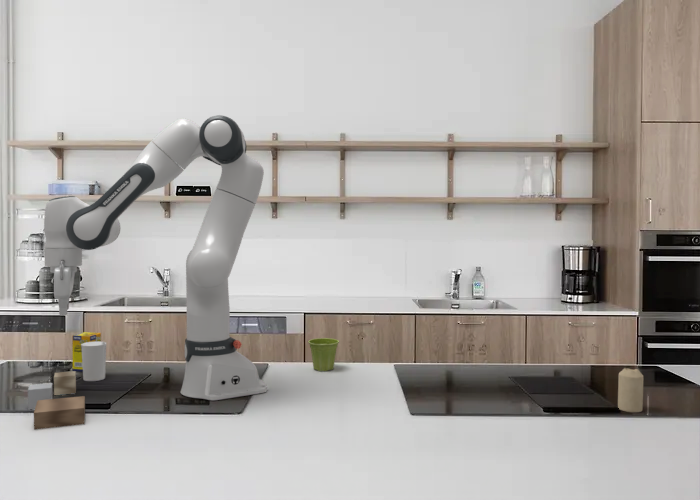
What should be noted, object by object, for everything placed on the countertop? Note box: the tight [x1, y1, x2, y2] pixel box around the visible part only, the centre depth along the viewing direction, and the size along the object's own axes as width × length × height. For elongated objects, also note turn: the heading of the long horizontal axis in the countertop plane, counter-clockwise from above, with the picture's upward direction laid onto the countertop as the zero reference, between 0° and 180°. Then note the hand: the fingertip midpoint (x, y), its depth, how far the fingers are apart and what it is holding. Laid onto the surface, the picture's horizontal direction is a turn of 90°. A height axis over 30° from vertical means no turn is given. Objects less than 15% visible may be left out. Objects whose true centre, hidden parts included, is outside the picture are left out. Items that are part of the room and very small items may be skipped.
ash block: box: [53, 370, 77, 396], centre depth 163 cm, size 5×5×5 cm
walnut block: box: [33, 395, 86, 430], centre depth 141 cm, size 10×10×4 cm
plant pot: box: [307, 337, 340, 372], centre depth 191 cm, size 9×9×9 cm
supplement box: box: [71, 331, 102, 373], centre depth 188 cm, size 6×6×11 cm
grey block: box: [27, 382, 54, 411], centre depth 151 cm, size 5×5×5 cm
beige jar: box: [617, 367, 644, 413], centre depth 152 cm, size 6×6×10 cm
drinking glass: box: [81, 341, 107, 382], centre depth 178 cm, size 7×7×10 cm
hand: (64, 312), depth 162 cm, fingers open, 8 cm apart
